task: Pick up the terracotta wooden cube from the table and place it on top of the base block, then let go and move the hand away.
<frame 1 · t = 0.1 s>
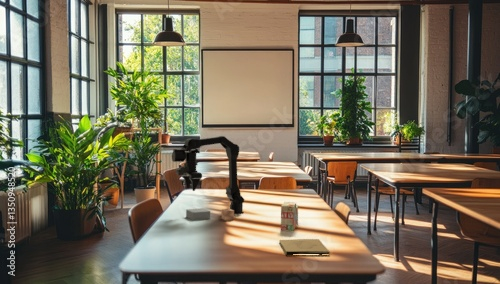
hand: (190, 189, 273), 15 cm above the table, tool pointing down, fingers open, 9 cm apart
printed carton: (289, 226, 250), on the table
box: (303, 250, 205), on the table
base block: (198, 217, 269), on the table
terracotta cube: (227, 219, 266), on the table
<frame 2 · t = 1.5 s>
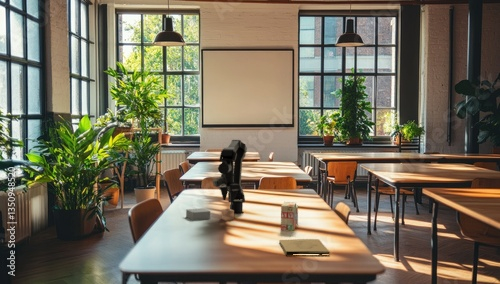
hand: (227, 201, 266), 10 cm above the table, tool pointing down, fingers open, 9 cm apart
nothing on the table moved.
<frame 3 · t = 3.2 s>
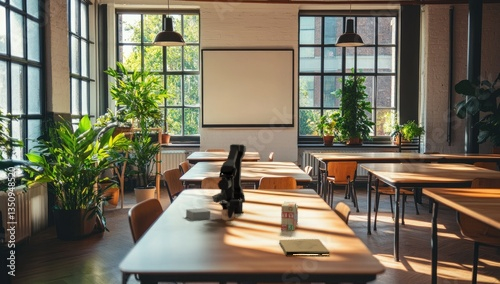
hand: (227, 216, 266), 1 cm above the table, tool pointing down, fingers closed on terracotta cube, 5 cm apart
terracotta cube: (227, 219, 266), on the table, touching gripper
everything else where it was.
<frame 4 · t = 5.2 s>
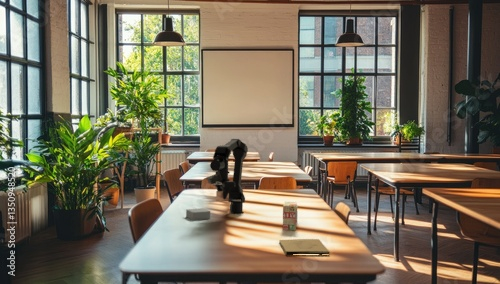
hand: (222, 198, 266), 11 cm above the table, tool pointing down, fingers closed on terracotta cube, 5 cm apart
terracotta cube: (222, 200, 266), point 10 cm above the table, touching gripper
everything else where it was.
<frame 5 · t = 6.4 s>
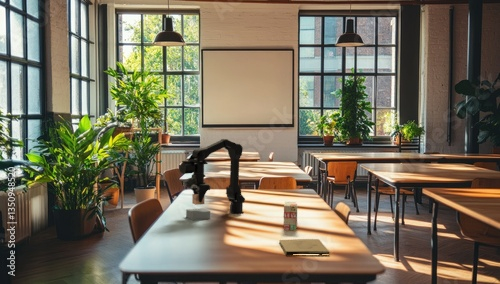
hand: (198, 201, 269), 9 cm above the table, tool pointing down, fingers closed on terracotta cube, 5 cm apart
terracotta cube: (198, 203, 269), point 8 cm above the table, touching gripper
everything else where it was.
when the fingers open (7 cm above the table, at t = 7.5 s): terracotta cube drops 2 cm, resting on base block.
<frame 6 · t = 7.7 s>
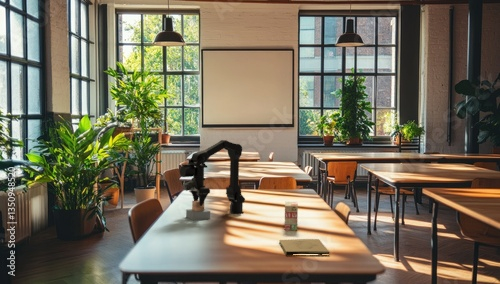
hand: (198, 204, 269), 7 cm above the table, tool pointing down, fingers open, 7 cm apart
terracotta cube: (198, 210, 269), point 4 cm above the table, touching base block
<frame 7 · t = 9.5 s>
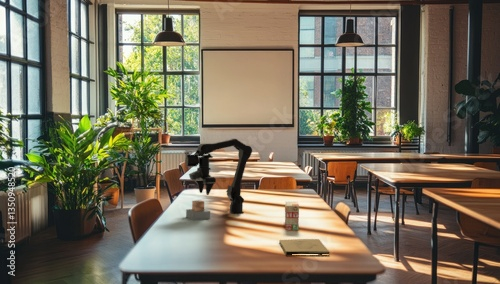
hand: (204, 193, 278), 12 cm above the table, tool pointing down, fingers open, 9 cm apart
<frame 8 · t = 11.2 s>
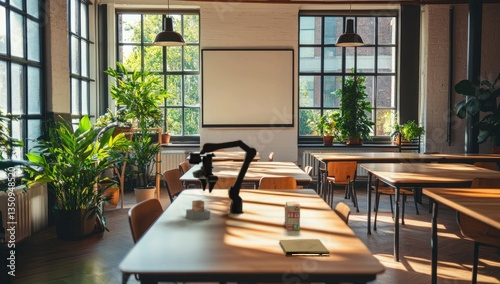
hand: (206, 191, 284), 12 cm above the table, tool pointing down, fingers open, 9 cm apart
at the end: terracotta cube 0.0 cm off-centre on the base block, point 4.0 cm above the base block's base; terracotta cube tilted 0°; the gripper is holding nothing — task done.
